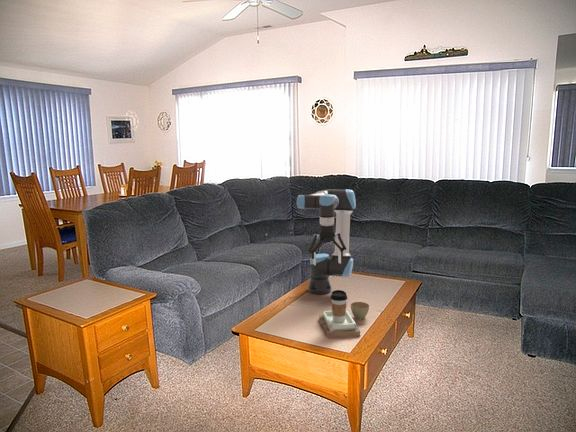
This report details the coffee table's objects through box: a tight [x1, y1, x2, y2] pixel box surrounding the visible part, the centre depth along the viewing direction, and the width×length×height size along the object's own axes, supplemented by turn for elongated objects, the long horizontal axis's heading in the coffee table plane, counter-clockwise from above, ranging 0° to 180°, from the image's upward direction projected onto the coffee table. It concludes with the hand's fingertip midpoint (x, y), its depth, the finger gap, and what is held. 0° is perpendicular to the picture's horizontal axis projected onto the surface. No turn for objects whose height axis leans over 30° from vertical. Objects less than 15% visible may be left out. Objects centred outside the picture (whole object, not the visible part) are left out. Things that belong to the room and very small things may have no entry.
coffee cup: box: [330, 289, 348, 323], centre depth 215 cm, size 8×8×15 cm
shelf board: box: [318, 314, 361, 339], centre depth 216 cm, size 22×16×2 cm
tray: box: [322, 309, 357, 331], centre depth 216 cm, size 18×13×3 cm
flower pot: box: [350, 301, 370, 320], centre depth 227 cm, size 10×10×7 cm
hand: (327, 263), depth 224 cm, fingers open, 13 cm apart
